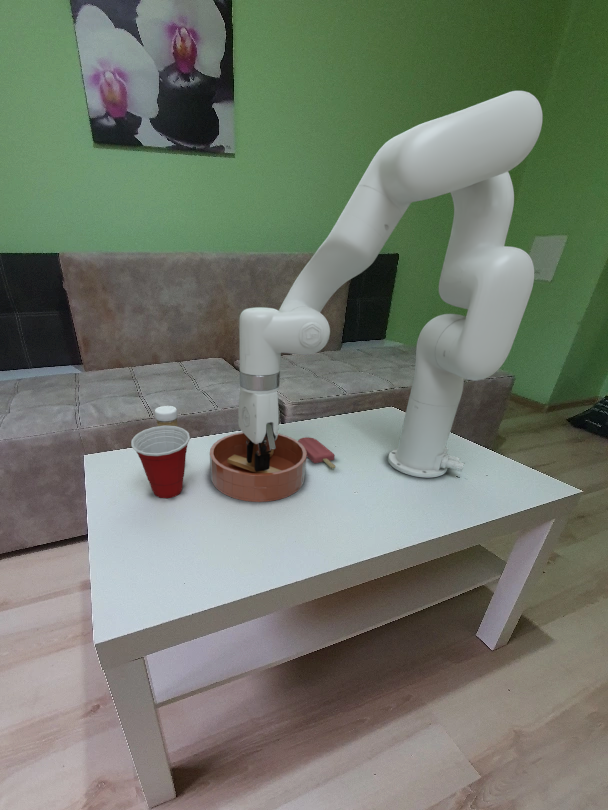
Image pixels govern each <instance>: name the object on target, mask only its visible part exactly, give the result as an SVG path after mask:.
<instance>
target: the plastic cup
mask: <svg viewBox="0 0 608 810" xmlns="http://www.w3.org/2000/svg"><path fill="white" fill-rule="evenodd" d="M190 440H191V436H190V433H189V431H187V430H186V429H185V428H184V427H183V428H182V427H180V426H178V427H176V426H152V427H149V428H146V429H143V430H142V431H140V432H137V434H135V435H134V436H133V438H132V439H131V440H130V441H131V442H130V443H131V448H132V449H133V450H134V451H135V452H136V454H137V455H138V458H139V460H140V462H141V465H142V467H143V471H144V474H145V476H146V478H147V480H148V482H149V486H150V488H151V492H152V493H153V494H154V495H155V497H158V498H160V499H171V498H174V497H177V496H178V495H180V494H181V492H182V490H183V487H184V477H185V472H186V471H185V469H186V458H187V450H188V445H189V442H190Z"/></svg>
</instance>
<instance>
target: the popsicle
mask: <svg viewBox="0 0 608 810" xmlns="http://www.w3.org/2000/svg"><path fill="white" fill-rule="evenodd" d="M297 441H298V442H300V443H301V444H302V445H303V446H304V447H305V449H306V452H307V456H306V458H307V459H309V460H310V461H311V462H312V463H313V464H319V463H325V464H326V465H327V466H328V467H329V468H330V469H336V465H335V464H334V463H333V462H331V461H334V460H335V454H334V453H333V451H332V450H330V449H329V448H328V447H326V446H325V445H324V444H323V443H321V442H320V441H319V440H317V439H316V438H314V437H309V436H308V437H307V436H306V437H305V436H304V437H301V438H299V439H298V440H297Z"/></svg>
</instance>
